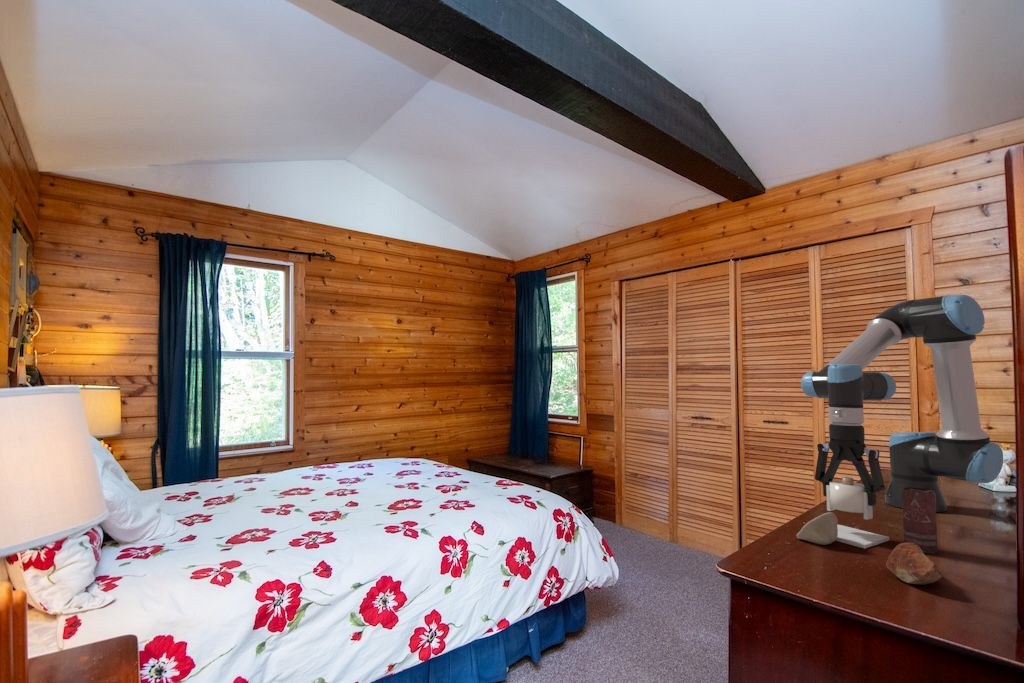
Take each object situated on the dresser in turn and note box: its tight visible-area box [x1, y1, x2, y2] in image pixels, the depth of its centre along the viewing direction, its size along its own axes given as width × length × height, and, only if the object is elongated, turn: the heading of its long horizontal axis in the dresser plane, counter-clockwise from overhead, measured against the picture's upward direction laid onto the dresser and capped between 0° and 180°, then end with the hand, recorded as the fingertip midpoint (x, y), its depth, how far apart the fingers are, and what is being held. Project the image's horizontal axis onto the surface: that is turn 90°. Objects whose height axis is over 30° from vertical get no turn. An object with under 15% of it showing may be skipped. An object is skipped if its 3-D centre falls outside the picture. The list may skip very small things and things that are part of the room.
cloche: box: [829, 476, 866, 514], centre depth 126 cm, size 8×8×8 cm
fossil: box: [885, 542, 943, 586], centre depth 100 cm, size 13×8×10 cm
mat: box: [834, 523, 890, 549], centre depth 126 cm, size 12×12×1 cm
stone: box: [796, 511, 839, 546], centre depth 122 cm, size 10×7×10 cm
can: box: [902, 487, 939, 555], centre depth 118 cm, size 6×6×14 cm
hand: (849, 514), depth 126 cm, fingers closed on cloche, 8 cm apart
